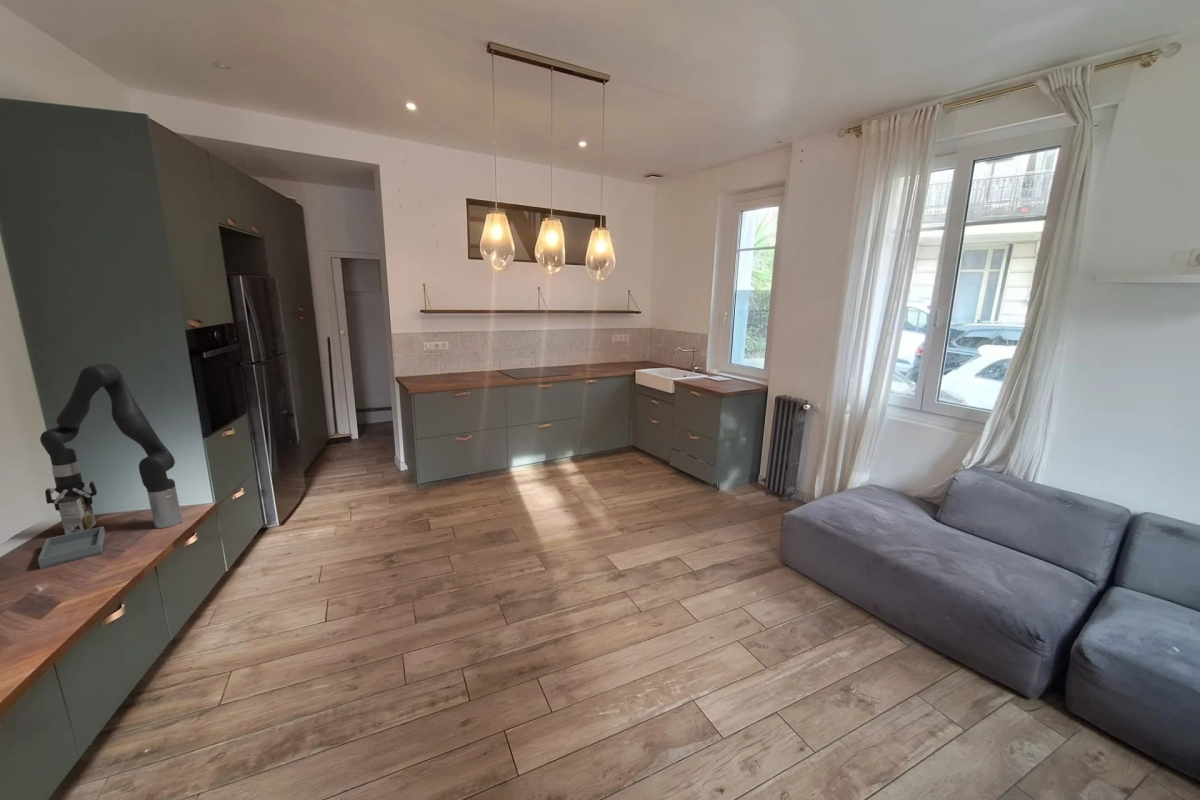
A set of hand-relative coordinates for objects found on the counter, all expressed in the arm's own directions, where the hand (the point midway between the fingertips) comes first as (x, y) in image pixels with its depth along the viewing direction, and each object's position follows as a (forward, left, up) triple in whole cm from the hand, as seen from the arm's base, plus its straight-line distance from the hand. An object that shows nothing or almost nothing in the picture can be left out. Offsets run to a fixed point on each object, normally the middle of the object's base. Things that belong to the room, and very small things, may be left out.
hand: (75, 507), depth 199 cm
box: (0, +22, -11) cm, 25 cm away
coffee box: (0, 0, -11) cm, 11 cm away
